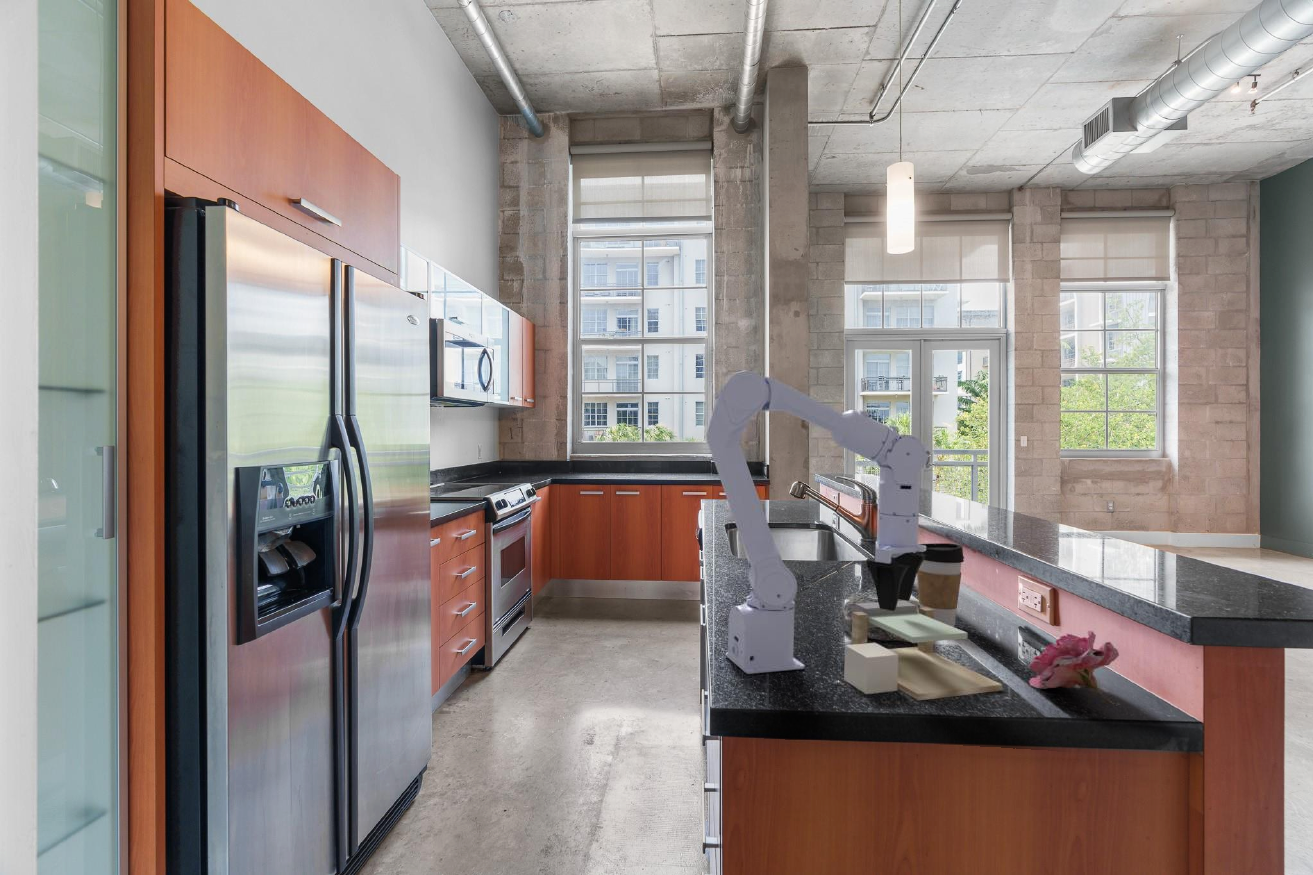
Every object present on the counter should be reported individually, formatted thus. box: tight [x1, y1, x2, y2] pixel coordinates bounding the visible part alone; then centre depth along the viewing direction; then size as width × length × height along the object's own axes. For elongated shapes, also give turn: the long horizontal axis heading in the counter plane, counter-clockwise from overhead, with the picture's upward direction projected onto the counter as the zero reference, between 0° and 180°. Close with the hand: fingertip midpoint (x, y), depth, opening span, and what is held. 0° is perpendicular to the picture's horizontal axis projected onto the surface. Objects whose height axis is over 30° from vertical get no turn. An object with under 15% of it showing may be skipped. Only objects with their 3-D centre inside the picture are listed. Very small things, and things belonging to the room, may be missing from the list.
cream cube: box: [843, 642, 898, 695], centre depth 86 cm, size 5×5×5 cm
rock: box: [840, 594, 921, 643], centre depth 110 cm, size 13×6×15 cm
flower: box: [1028, 630, 1120, 705], centre depth 86 cm, size 11×10×10 cm
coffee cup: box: [914, 542, 965, 628], centre depth 117 cm, size 8×8×15 cm
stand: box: [850, 607, 1003, 701], centre depth 91 cm, size 14×16×8 cm
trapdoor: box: [855, 601, 968, 644], centre depth 94 cm, size 9×14×3 cm
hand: (894, 604), depth 93 cm, fingers open, 7 cm apart
